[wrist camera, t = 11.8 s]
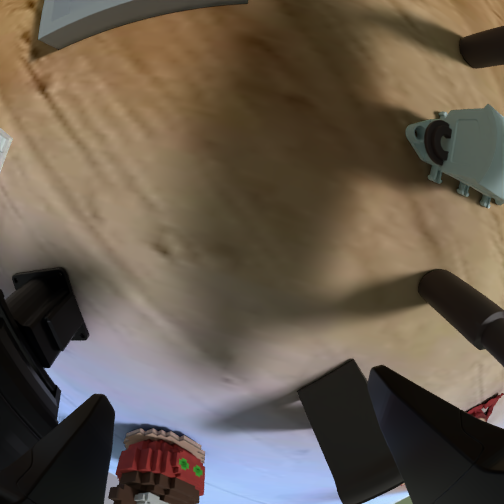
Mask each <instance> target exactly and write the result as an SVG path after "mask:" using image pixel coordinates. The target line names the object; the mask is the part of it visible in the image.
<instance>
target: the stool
mask: <svg viewBox="0 0 504 504" xmlns="http://www.w3.org/2000/svg"><path fill="white" fill-rule="evenodd" d="M460 53H461V54H462V55H463V56H464V58H465V60H466V61H467V62H468V63H469V64H470V65H471V66H472V67H474V68H484V67H491V66H497V65H504V26H501V27H497V28H493V29H490V30H486V31H483V32H479V33H476V34H472V35H469V36H466V37H464V38H462V39H461V40H460ZM439 115H440V119H430V120H425V121H421V122H418V123H414V124H410V125H408V126H407V128H406V137H407V139H408V140H409V142H410V143H411V145H412V147H413V148H414V150H415V151H416V153H417V154H418V156H419V158H420V159H421V160H422V161H424V162H426V163H429V164H431V165H432V167H431V172H430V175H428V179H429V180H431V181H434V182H435V183H439V184H440V183H442V180H441V176H442V172H443V173H445V174H447V175H449V176H451V177H453V178H455V179H457V180H459V181H460V184H459V189H457V193H459V194H461V195H463V196H466V197H468V196H469V193H468V191H469V186H470V187H472V188H473V189H475V190H477V191H479V192H480V193H482V194H483V195H482V200H481V201H480V205H482V206H484V207H486V208H490V201H491V197H492V198H493V199H495V203H496V204H497V205H502V204H503V203H504V117H503V116H502V115H501V114H500V113H498V112H497V111H496V110H495V109H494V108H493V107H492V106H490V105H489V104H487V105H486V107H485V108H483V109H463V110H451V111H450V112H449V113H448V115H447V113H446V112H440V113H439ZM415 130H416V131H417V137H416V136H415ZM418 292H419V294H420V295H421V297H422V298H423V299H424V300H425V301H426V302H427V303H428V304H429V305H430V306H432V307H433V308H434V309H435V310H436V311H437V312H438V313H439V314H440V315H442V316H443V317H444V318H445V319H446V320H447V321H448V322H449V323H450V324H451V325H452V326H453V327H454V328H456V329H457V330H458V331H459V332H460V333H461V334H462V335H463V336H464V337H465V338H466V339H467V340H468V341H469V342H470V343H471V344H473V345H474V346H475V347H476V348H477V349H479V350H483V349H486V350H487V351H488V352H489V353H490V354H491V355H492V356H493V357H494V358H495V359H496V360H497V361H498V362H499V363H500V364H501V365H502V366H503V367H504V310H503V309H502V308H500V307H499V306H498V305H497V304H495V303H494V302H493V301H491V300H490V299H488V298H487V297H486V296H484V295H483V294H482V293H480V292H479V291H477V290H476V289H475V288H473V287H472V286H470V285H469V284H467V283H466V282H464V281H463V280H461V279H460V278H459V277H457V276H456V275H454V274H452V273H451V272H449V271H447V270H442V269H440V270H434V271H431V272H429V273H428V274H426V275H425V276H424V277H423V278H422V280H421V282H420V284H419V290H418Z"/></svg>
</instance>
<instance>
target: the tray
mask: <svg viewBox="0 0 504 504" xmlns="http://www.w3.org/2000/svg"><path fill="white" fill-rule="evenodd" d="M247 3H248V0H45V1H44V5H43V10H42V16H41V22H40V28H39V36H38V40H40V41H42V42H44V43H46V44H48V45H50V46H52V47H54V48H56V49H58V50H59V49H62V48H64V47H66V46H68V45H70V44H73V43H75V42H77V41H80V40H82V39H85V38H87V37H90V36H92V35H95V34H98V33H101V32H103V31H106V30H109V29H112V28H115V27H118V26H122V25H125V24H128V23H132V22H135V21H139V20H143V19H146V18H150V17H155V16H159V15H163V14H168V13H173V12H178V11H184V10H190V9H196V8H203V7H211V6H220V5H232V4H247Z"/></svg>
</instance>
